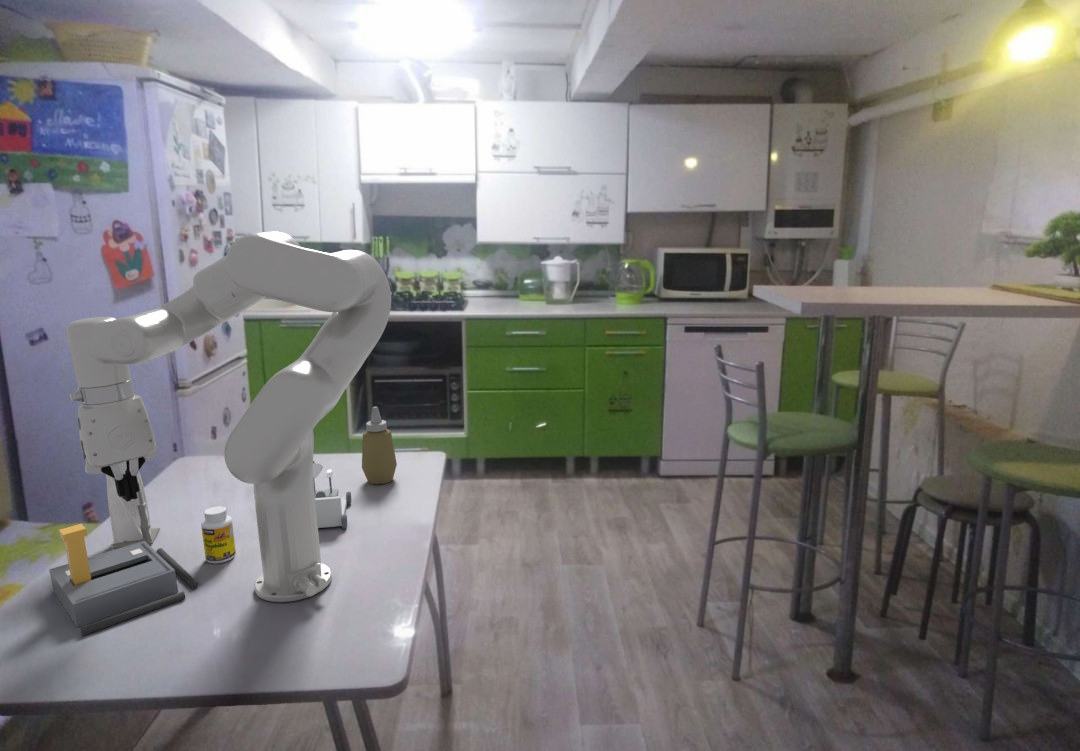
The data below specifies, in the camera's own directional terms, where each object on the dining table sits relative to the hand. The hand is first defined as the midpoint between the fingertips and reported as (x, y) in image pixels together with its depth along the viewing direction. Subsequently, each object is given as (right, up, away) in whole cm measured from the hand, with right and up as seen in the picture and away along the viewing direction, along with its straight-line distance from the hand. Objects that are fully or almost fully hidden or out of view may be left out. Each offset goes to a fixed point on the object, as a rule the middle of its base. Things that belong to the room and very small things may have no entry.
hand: (129, 498), depth 123 cm
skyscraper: (-11, -12, +21) cm, 27 cm away
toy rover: (+23, -9, +31) cm, 40 cm away
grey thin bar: (+4, -18, -6) cm, 19 cm away
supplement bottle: (+10, -13, +13) cm, 21 cm away
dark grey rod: (+4, -14, +8) cm, 17 cm away
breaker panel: (-3, -16, +1) cm, 17 cm away
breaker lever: (-7, -14, -2) cm, 16 cm away
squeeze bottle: (+31, -4, +50) cm, 59 cm away
